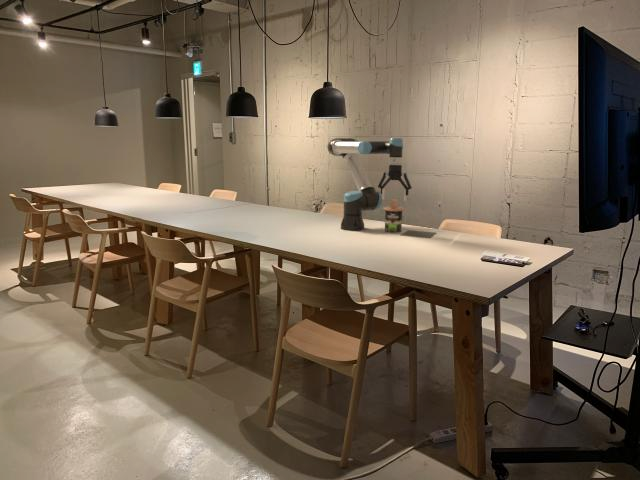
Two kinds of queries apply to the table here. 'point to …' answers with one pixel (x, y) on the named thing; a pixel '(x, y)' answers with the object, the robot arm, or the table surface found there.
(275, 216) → the table surface
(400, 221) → the coffee can
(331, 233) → the table surface
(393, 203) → the lid
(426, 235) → the mat
